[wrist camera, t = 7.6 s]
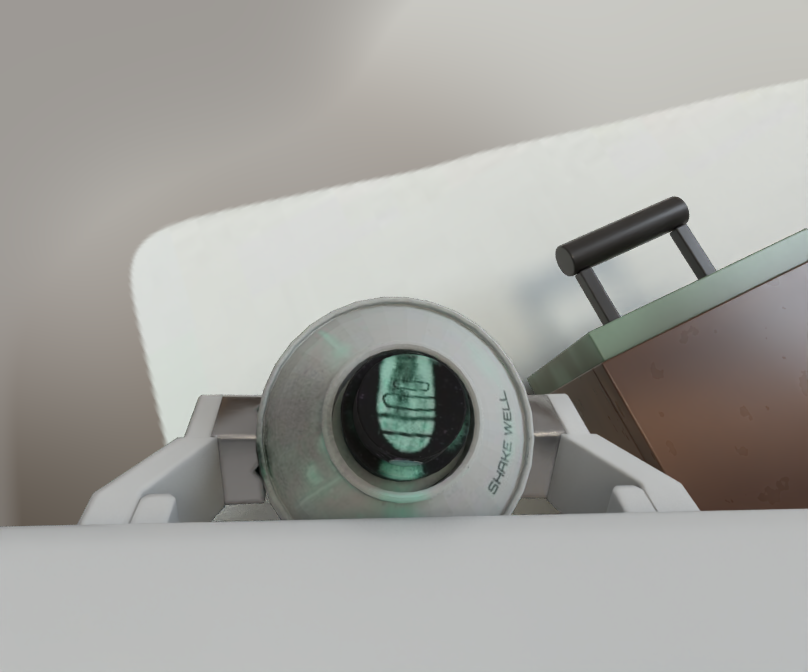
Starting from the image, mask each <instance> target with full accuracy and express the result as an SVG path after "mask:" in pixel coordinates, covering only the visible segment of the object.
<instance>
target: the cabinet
mask: <svg viewBox="0 0 808 672" xmlns="http://www.w3.org/2000/svg"><path fill="white" fill-rule="evenodd" d="M550 394H566V395H568V396H569V398H570V400H571V401H572V403H573V405H574V407H575V408H576V410H577V412H578V413H579V415H580V417H581V419H582V420H583V422H584V424H585V426H586V427H587V429H588V431H589V432H590V434H597V435H599V436H601V437H603V438H604V439H606V440H608V441H609V442H611V443H613V444H615V445H616V446H618V447H620V448H621V449H623V450H625V451H627V452H628V453H630V454H632V455H633V456H635V457H637V458H639V459H640V460H642V461H644V462H645V463H647V464H649V465H651V466H652V467H654V468H656V469H657V470H659V471H661V472H663V473H664V474H666V475H668V476H669V477H671V478H673V479H675V480H676V481H678V482H680V483H681V484H682V485H683V487H684V488H685V490H686V491H687V492H688V494H689V495H690V497H691V498H692V500H693V501H694V503H695V504H696V505H697V507H698V508H699V510H700V511H720V510H766V509H808V261H807V262H805V263H803V264H801V265H799V266H797V267H794V268H792V269H790V270H788V271H786V272H784V273H782V274H780V275H778V276H776V277H774V278H772V279H770V280H768V281H766V282H764V283H762V284H760V285H758V286H756V287H754V288H752V289H750V290H748V291H746V292H744V293H742V294H740V295H738V296H736V297H734V298H732V299H730V300H728V301H726V302H724V303H721V304H719V305H717V306H715V307H713V308H711V309H709V310H707V311H705V312H703V313H701V314H699V315H697V316H695V317H693V318H691V319H689V320H687V321H685V322H683V323H681V324H679V325H677V326H675V327H673V328H671V329H669V330H667V331H665V332H663V333H661V334H659V335H657V336H655V337H653V338H651V339H648V340H646V341H644V342H642V343H640V344H638V345H636V346H634V347H632V348H630V349H628V350H626V351H624V352H622V353H620V354H618V355H616V356H614V357H612V358H610V359H608V360H606V361H604V362H602V363H600V364H599V365H597V366H595V367H594V368H592V369H590V370H588V371H587V372H585V373H583V374H582V375H580V376H578V377H577V378H575V379H573V380H572V381H570V382H568V383H567V384H565V385H563V386H562V387H560V388H558V389H557V390H555V391H553V392H551V393H550Z"/></svg>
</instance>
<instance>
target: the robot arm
mask: <svg viewBox="0 0 808 672" xmlns="http://www.w3.org/2000/svg"><path fill="white" fill-rule="evenodd" d="M527 397H528V400H529V404H530V407H531V411H532V419H533V430H534V446H533V456H532V466H531V469H530V472H529V476H528V479H527V482H526V485H525V489H524V492H523V494H522V496H521V498H547V501H549V502H550V503H551V504H552V505H553V506H554V507H555V508H556V509H557V510H558V511H559V512H561V513H562V514H539V515H495V516H451V517H406V518H362V519H317V520H272V521H228V522H211V521H212V520H213V519H214V518H215V517H216V515H217V514H218V513H219V512H220V511H221V510H222V509H223V508H224V507H225V505H232V504H253V503H264V501H265V495H266V490H265V488H264V485H263V482H262V480H261V477H260V471H259V465H258V459H257V453H256V435H257V415H258V411H259V407H260V403H261V398H262V395H201V396H200V397H199V398H198V400H197V403H196V406H195V409H194V411H193V414H192V417H191V419H190V422H189V425H188V428H187V430H186V433H185V436H184V437H182V438H176V439H175V440H173V441H172V442H170V443H169V444H167V445H166V446H164V447H162V448H161V449H159V450H158V451H156V452H155V453H153V454H152V455H151V456H149V457H147V458H146V459H144V460H143V461H141V462H140V463H138V464H137V465H135V466H134V467H132V468H131V469H129V470H128V471H126V472H125V473H123V474H122V475H120V476H119V477H117V478H116V479H114V480H112V481H111V482H110V483H108V484H107V485H105V486H103V487H102V488H100V489H99V490H97V491H96V492H94V493H93V495H92V497H91V499H90V500H89V502H88V504H87V506H86V508H85V510H84V512H83V514H82V516H81V518H80V520H79V522H78V524H77V525H51V526H50V525H49V526H9V527H7V526H5V527H0V672H808V509H766V510H720V511H700V510H699V508H698V507H697V505H696V504H695V503H694V501H693V500H692V498H691V497H690V495H689V494H688V492H687V491H686V490H685V488H684V487H683V485H682V484H681V483H680V482H678V481H676V480H675V479H673V478H671V477H669V476H668V475H666V474H664V473H663V472H661V471H659V470H657V469H656V468H654V467H652V466H651V465H649V464H647V463H645V462H644V461H642V460H640V459H639V458H637V457H635V456H633V455H632V454H630V453H628V452H627V451H625V450H623V449H621V448H620V447H618V446H616V445H615V444H613V443H611V442H609V441H608V440H606V439H604V438H603V437H601V436H599V435H597V434H590V432H589V431H588V429H587V427H586V426H585V424H584V422H583V420H582V419H581V417H580V415H579V413H578V412H577V410H576V408H575V407H574V405H573V403H572V401H571V400H570V398H569V396H568V395H566V394H544V395H527Z"/></svg>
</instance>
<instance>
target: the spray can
mask: <svg viewBox="0 0 808 672" xmlns="http://www.w3.org/2000/svg"><path fill="white" fill-rule="evenodd" d="M533 446H534V430H533V419H532V411H531V407H530V404H529V400H528V397H527V393H526V390H525V386H524V384H523V382H522V380H521V378H520V376H519V374H518V372H517V370H516V368H515V366H514V364H513V363H512V361H511V360H510V359H509V357H508V356H507V355H506V353H505V352H504V351H503V350H502V348H501V347H500V346H499V344H498V343H497V342H496V341H495V340H494V339H493V338H492V337H491V336H490V335H488V334H487V333H486V332H485V331H484V330H483V329H482V328H481V327H480V326H479V325H477V324H476V323H474V322H472V321H471V320H469V319H468V318H466V317H464V316H463V315H461V314H460V313H458V312H456V311H454V310H451V309H449V308H446V307H444V306H441V305H439V304H436V303H433V302H429V301H424V300H419V299H414V298H409V297H380V298H374V299H369V300H363V301H358V302H354V303H352V304H349V305H347V306H344V307H341V308H339V309H336V310H334V311H332V312H330V313H328V314H327V315H325V316H324V317H322V318H320V319H319V320H317V321H316V322H314V323H312V324H311V325H309V326H308V327H307V328H306V329H305V330H304V331H303V332H302V333H301V334H300V335H299V336H298V337H297V338H296V339H294V340H293V341H292V342H291V343H290V345H289V346H288V347H287V349H286V350H285V352H284V353H283V354H282V356H281V357H280V359H279V360H278V361H277V363H276V364H275V366H274V368H273V370H272V372H271V375H270V377H269V379H268V381H267V383H266V385H265V388H264V390H263V394H262V398H261V403H260V407H259V411H258V415H257V435H256V453H257V459H258V465H259V471H260V477H261V480H262V482H263V485H264V488H265V490H266V493H267V495H268V498H269V501H270V503H271V505H272V506H273V508H274V510H275V511H276V513H277V514H278V516H279V517H280V519H281V520H317V519H362V518H406V517H451V516H495V515H511V514H512V512H513V511H514V509H515V507H516V505H517V503H518V501H519V499H520V498H521V496H522V494H523V492H524V489H525V485H526V482H527V479H528V476H529V472H530V469H531V466H532V456H533Z"/></svg>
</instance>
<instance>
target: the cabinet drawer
mask: <svg viewBox="0 0 808 672" xmlns="http://www.w3.org/2000/svg"><path fill="white" fill-rule="evenodd" d="M688 220H689V210H688V207H687V205H686V204H685V202H684V201H683V200H682V199H680V198H679V197H670V198H667V199H665V200H663V201H661V202H658V203H656V204H654V205H651V206H649V207H647V208H645V209H642V210H640V211H638V212H635V213H633V214H631V215H629V216H626V217H624V218H622V219H619V220H617V221H615V222H613V223H610V224H608V225H606V226H603V227H601V228H599V229H597V230H594V231H592V232H590V233H587V234H585V235H583V236H581V237H578V238H576V239H574V240H572V241H569V242H567V243H565V244H562V245H560V246H558V248H557V249H556V260H557V263H558V266H559V267H560V269H561V270H562V272H563V273H564V274H565V275H567V276H574V275H576V274H577V275H576V276H575V277H576V279H577V281H578V283H579V284H580V286H581V288H582V289H583V291H584V293H585V295H586V296H587V298H588V300H589V301H590V303H591V305H592V307H593V308H594V310H595V312H596V313H597V315H598V317H599V319H600V320H601V322H602V324H603V326H601V327H599V328H597V329H595V330H592V331H590V332H588V333H587V334H586V335H584V336H583V337H582V338H580V339H579V340H578V341H576V342H575V343H574V344H572V345H571V346H570V347H568V348H567V349H566V350H564V351H563V352H562V353H560V354H559V355H558V356H556V357H555V358H554V359H552V360H551V361H550V362H548V363H547V364H546V365H544V366H543V367H542V368H540V369H539V370H538V371H536V372H535V373H534V374H532V375H531V376H530V377H528V378H527V380H528V382H529V384H530V386H531V388H532V390H533V392H534V393H535V395H544V394H550V393H551V392H553V391H555V390H557V389H558V388H560V387H562V386H563V385H565V384H567V383H568V382H570V381H572V380H573V379H575V378H577V377H578V376H580V375H582V374H583V373H585V372H587V371H588V370H590V369H592V368H594V367H595V366H597V365H599V364H600V363H602V362H604V361H606V360H608V359H610V358H612V357H614V356H616V355H618V354H620V353H622V352H624V351H626V350H628V349H630V348H632V347H634V346H636V345H638V344H640V343H642V342H644V341H646V340H648V339H651V338H653V337H655V336H657V335H659V334H661V333H663V332H665V331H667V330H669V329H671V328H673V327H675V326H677V325H679V324H681V323H683V322H685V321H687V320H689V319H691V318H693V317H695V316H697V315H699V314H701V313H703V312H705V311H707V310H709V309H711V308H713V307H715V306H717V305H719V304H721V303H724V302H726V301H728V300H730V299H732V298H734V297H736V296H738V295H740V294H742V293H744V292H746V291H748V290H750V289H752V288H754V287H756V286H758V285H760V284H762V283H764V282H766V281H768V280H770V279H772V278H774V277H776V276H778V275H780V274H782V273H784V272H786V271H788V270H790V269H792V268H794V267H797V266H799V265H801V264H803V263H805V262H807V261H808V229H804V230H802V231H799V232H797V233H795V234H793V235H791V236H789V237H787V238H785V239H783V240H781V241H779V242H776V243H774V244H772V245H770V246H768V247H766V248H764V249H762V250H760V251H758V252H756V253H753V254H751V255H749V256H747V257H745V258H743V259H741V260H739V261H737V262H735V263H733V264H730V265H728V266H726V267H724V268H722V269H720V270H718V271H716V269H715V268H714V266H713V265H712V263H711V262H710V260H709V259H708V257H707V255H706V254H705V252H704V251H703V249H702V248H701V246H700V245H699V243H698V241H697V240H696V238H695V237H694V235H693V234H692V232H691V231H690V229H689V227H688V226H687V224H686V223H687V222H688ZM671 231H672V232H671ZM669 232H671V233H670V236H671V237H672V239H673V240H674V242H675V244H676V245H677V247H678V248H679V250H680V251H681V253H682V255H683V256H684V258H685V259H686V261H687V263H688V264H689V266H690V267H691V269H692V270H693V272H694V274H695V275H696V277H697V278H698V280H697V281H695V282H693V283H691V284H689V285H687V286H684V287H682V288H680V289H678V290H676V291H674V292H672V293H670V294H668V295H666V296H664V297H661V298H659V299H657V300H655V301H653V302H651V303H649V304H647V305H645V306H643V307H641V308H638V309H636V310H634V311H632V312H630V313H628V314H626V315H624V316H622V317H620V315H619V313H618V312H617V310H616V308H615V307H614V305H613V303H612V302H611V300H610V298H609V296H608V295H607V293H606V291H605V290H604V288H603V286H602V285H601V283H600V281H599V280H598V278H597V276H596V275H595V273H594V271H593V269H592V267H594V266H596V265H598V264H600V263H603V262H605V261H607V260H609V259H611V258H614V257H616V256H618V255H620V254H622V253H625V252H627V251H629V250H631V249H634V248H636V247H638V246H640V245H642V244H645V243H647V242H649V241H651V240H653V239H656V238H658V237H660V236H662V235H664V234H667V233H669Z"/></svg>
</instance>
